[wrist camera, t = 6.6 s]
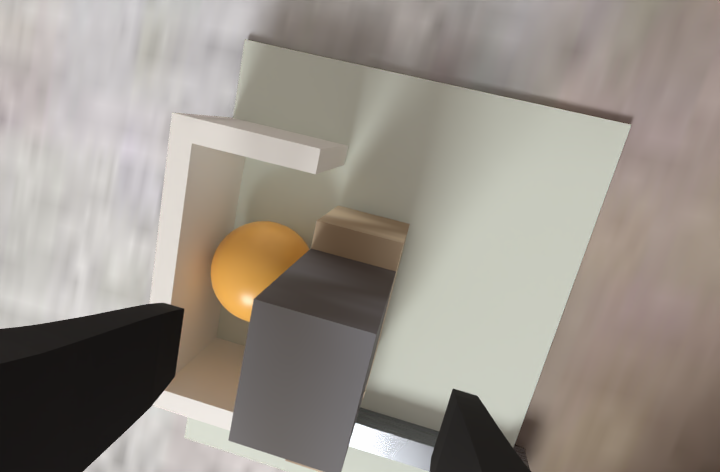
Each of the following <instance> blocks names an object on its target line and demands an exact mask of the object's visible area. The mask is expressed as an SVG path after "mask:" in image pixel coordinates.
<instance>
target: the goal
mask: <svg viewBox="0 0 720 472" xmlns="http://www.w3.org/2000/svg"><path fill="white" fill-rule="evenodd" d="M347 150H348V145H344V144H339V143H335V142H331V141H327V140H323V139H319V138H315V137H311V136H306V135H302V134H298V133H294V132H290V131H286V130H282V129H277V128H273V127H269V126H265V125H261V124H257V123H253V122H249V121H244V120H240V119H236V118H230V117H218V116H206V115H194V114H182V113H172V118H171V126H170V134H169V143H168V151H167V160H166V168H165V177H164V185H163V193H162V202H161V210H160V219H159V227H158V236H157V244H156V252H155V261H154V269H153V278H152V286H151V295H150V303H149V304H153V303H167V304H170V305H174V306H177V307H180V308H184V317H183V324H182V331H181V338H180V345H179V352H178V359H177V366H176V373H175V377H174V378H173V380H172V381H171V382H170V384H169V385H168V386H167V388H166V389H165V390H164V391H163V393H162V394H161V395H160V396H159V398H158V399H157V400H156V401H155V402H154V404H153V405H152V406H155V407H158V408H161V409H164V410H167V411H170V412H173V413H176V414H179V415H183V416H186V417H189V418H192V419H195V420H198V421H201V422H204V423H207V424H210V425H214V426H217V427H220V428H223V429H226V430H229V431H230V428H231V423H232V417H233V411H234V406H235V400H236V395H237V389H238V384H239V378H240V373H241V367H242V361H243V356H244V350H245V346H243V345H240V344H236V343H233V342H230V341H226V340H223V339H220V338H216V336H217V329H218V323H219V317H220V311H221V305H222V304H221V303H220V301H219V300H218V298H217V296H216V295H215V292H214V290H213V287H212V282H211V264H212V259H213V256H214V253H215V251H216V249H217V247H218V246H219V244H220V243H221V242H222V240H223V239H224V238H225V237H226V236H227V235H228V234H229V233H230V232H232V231H233V230H234V224H235V218H236V212H237V206H238V199H239V193H240V187H241V181H242V175H243V168H244V162H245V157H249V158H253V159H257V160H261V161H265V162H269V163H273V164H276V165H280V166H284V167H288V168H292V169H296V170H300V171H304V172H308V173H312V174H318V173H321V172H324V171H328V170H331V169H334V168H337V167H340V166H343V165H344V164H345V159H346V155H347Z"/></svg>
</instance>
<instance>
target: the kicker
mask: <svg viewBox="0 0 720 472" xmlns="http://www.w3.org/2000/svg"><path fill="white" fill-rule="evenodd" d="M409 225H410V224H408V223H404V222H400V221H397V220H393V219H389V218H385V217H381V216H377V215H373V214H369V213H365V212H362V211H358V210H354V209H350V208H346V207H342V206H337V207H335V208H334V209H332V210H331V211H329V212H328V213H327V214H325V215H324V216H322V217H321V218H319V219H318V220H317V221H316V226H315V231H314V236H313V240H312V245H311V249H310V250H308V251H307V252H306V253H305V254H304V255H303V256H302V257H301V258H299V259H298V260H297V261H296V262H295V263H294V264H293V265H292V266H290V267H289V268H288V269H287V270H286V271H285V272H284V273H283V274H281V275H280V276H279V277H278V278H277V279H276V280H275V281H273V282H272V283H271V284H270V285H269V286H268V287H267V288H266V289H264V290H263V291H262V292H261V293H260V294H259V295H258V296H257V297H255V298H254V300H253V306H252V311H251V317H250V323H249V328H248V334H247V339H246V345H245V350H244V356H243V361H242V367H241V373H240V378H239V384H238V389H237V395H236V400H235V406H234V411H233V417H232V423H231V428H230V434H229V439H228V441H231V442H234V443H237V444H240V445H243V446H247V447H250V448H253V449H256V450H259V451H262V452H265V453H268V454H271V455H274V456H277V457H280V458H283V459H285V461H288V462H291V463H294V464H297V465H300V466H303V467H306V468H309V469H312V470H315V471H318V472H341V471H342V468H343V464H344V461H345V457H346V454H347V450H348V447H349V444H350V440H351V437H352V433H353V430H354V426H355V423H356V419H357V416H358V412H359V409H360V406H361V402H362V400H363V398H364V394H365V391H366V387H367V384H368V380H369V377H370V373H371V370H372V366H373V363H374V359H375V356H376V352H377V348H378V344H379V341H380V337H381V333H382V329H383V325H384V321H385V317H386V314H387V310H388V306H389V302H390V298H391V294H392V291H393V287H394V283H395V279H396V275H397V271H398V268H399V264H400V260H401V256H402V252H403V248H404V245H405V241H406V237H407V233H408V229H409Z"/></svg>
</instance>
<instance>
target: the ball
mask: <svg viewBox="0 0 720 472" xmlns="http://www.w3.org/2000/svg"><path fill="white" fill-rule="evenodd" d="M308 250H310V249H309V247H308V245H307V244H306V243H305V241H304V240H303V239H302V237H301V236H299V235H298V234H297V233H296V232H295V231H293V230H292V229H290V228H289V227H287V226H285V225H282V224H279V223H276V222H270V221H257V222H252V223H248V224H245V225H242V226H240V227H238V228H236V229H235V230H233V231H232V232H230V233H229V234H228V235H227V236H226V237H225V238H224V239H223V240H222V242H221V243H220V244H219V246H218V247H217V249H216V251H215V253H214V256H213V259H212V264H211V282H212V287H213V290H214V292H215V295H216V296H217V298H218V300H219V301H220V303H221V304H222V305H223V306H224V308H226V309H227V310H228V311H229V312H230V313H231V314H233V315H234V316H236V317H238V318H240V319H242V320H245V321H248V322H250V317H251V311H252V306H253V300H254V298H255V297H257V296H258V295H259V294H260V293H261V292H262V291H263V290H264V289H266V288H267V287H268V286H269V285H270V284H271V283H272V282H273V281H275V280H276V279H277V278H278V277H279V276H280V275H281V274H283V273H284V272H285V271H286V270H287V269H288V268H289V267H290V266H292V265H293V264H294V263H295V262H296V261H297V260H298V259H299V258H301V257H302V256H303V255H304V254H305V253H306V252H307V251H308Z"/></svg>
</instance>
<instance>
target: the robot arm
mask: <svg viewBox="0 0 720 472" xmlns="http://www.w3.org/2000/svg"><path fill="white" fill-rule="evenodd" d="M183 317H184V308H180V307H177V306H174V305H170V304H167V303H153V304H146V305H141V306H135V307H130V308H125V309H120V310H115V311H110V312H105V313H100V314H95V315H90V316H85V317H79V318H74V319H68V320H62V321H56V322H50V323H44V324H38V325H31V326H23V327H15V328H5V329H0V472H83V471H84V470H85V469H86V468H87V467H88V466H89V465H90V464H91V463H92V462H93V461H94V460H96V459H97V458H98V457H99V456H100V455H101V454H102V453H103V452H104V451H105V450H106V449H107V448H108V447H109V446H110V445H111V444H112V443H114V442H115V441H116V440H117V439H118V438H119V437H120V436H121V435H122V434H123V433H124V432H125V431H126V430H127V429H128V428H129V427H130V426H132V425H133V424H134V423H135V422H136V421H137V420H138V419H139V418H140V417H141V416H142V415H143V414H144V413H145V412H146V411H147V410H148V409H149V408H150V407H151V406H152V405H153V404H154V402H155V401H156V400H157V399H158V398H159V396H160V395H161V394H162V393H163V391H164V390H165V389H166V388H167V386H168V385H169V384H170V382H171V381H172V380H173V378H174V377H175V373H176V366H177V359H178V352H179V345H180V338H181V331H182V324H183ZM430 472H531V471H530V470H529V468H528V467H527V466H526V465H525V463H524V462H523V461H522V459H521V458H520V457H519V455H518V454H517V453H516V451H515V450H514V449H513V447H512V446H511V444H510V443H509V442H508V440H507V439H506V437H505V436H504V434H503V433H502V431H501V430H500V428H499V427H498V425H497V424H496V422H495V421H494V419H493V418H492V416H491V415H490V413H489V412H488V410H487V409H486V407H485V406H484V404H483V403H482V401H481V400H480V399H479V397H478V396H477V395H473V394H470V393H467V392H463V391H460V390H457V389H452V392H451V396H450V399H449V402H448V405H447V408H446V412H445V415H444V418H443V421H442V424H441V428H440V431H439V434H438V437H437V440H436V444H435V447H434V450H433V453H432V456H431V463H430Z"/></svg>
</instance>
